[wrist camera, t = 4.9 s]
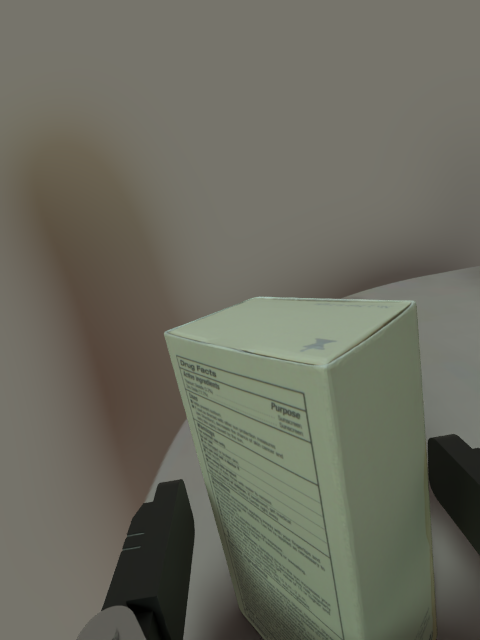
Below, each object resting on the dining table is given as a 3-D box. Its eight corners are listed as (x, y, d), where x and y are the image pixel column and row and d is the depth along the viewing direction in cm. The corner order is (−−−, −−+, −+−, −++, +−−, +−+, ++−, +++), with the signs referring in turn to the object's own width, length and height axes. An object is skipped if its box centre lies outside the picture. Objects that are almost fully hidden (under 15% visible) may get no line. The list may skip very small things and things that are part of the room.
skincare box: (440, 638, 12) (434, 299, 8) (378, 785, 9) (333, 368, 6) (297, 534, 16) (258, 291, 13) (228, 609, 14) (158, 328, 10)
